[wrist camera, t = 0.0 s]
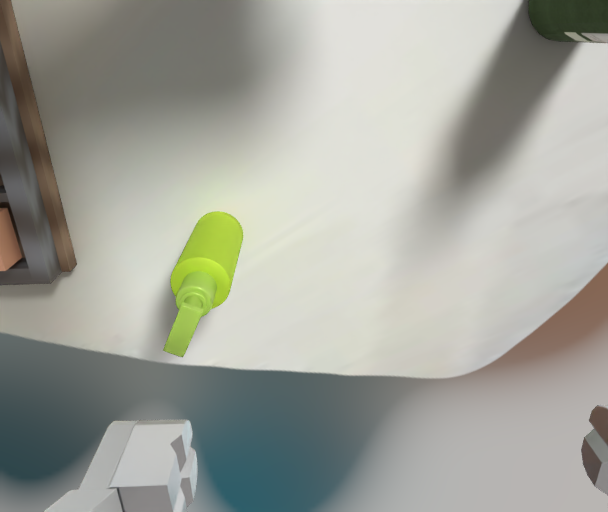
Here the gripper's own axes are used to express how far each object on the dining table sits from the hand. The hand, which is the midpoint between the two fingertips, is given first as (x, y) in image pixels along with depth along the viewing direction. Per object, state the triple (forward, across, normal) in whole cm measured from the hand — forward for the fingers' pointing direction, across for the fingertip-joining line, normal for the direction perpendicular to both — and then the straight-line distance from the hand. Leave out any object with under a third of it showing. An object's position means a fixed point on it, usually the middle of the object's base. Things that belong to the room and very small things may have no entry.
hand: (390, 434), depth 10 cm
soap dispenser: (+48, +12, +15) cm, 52 cm away
